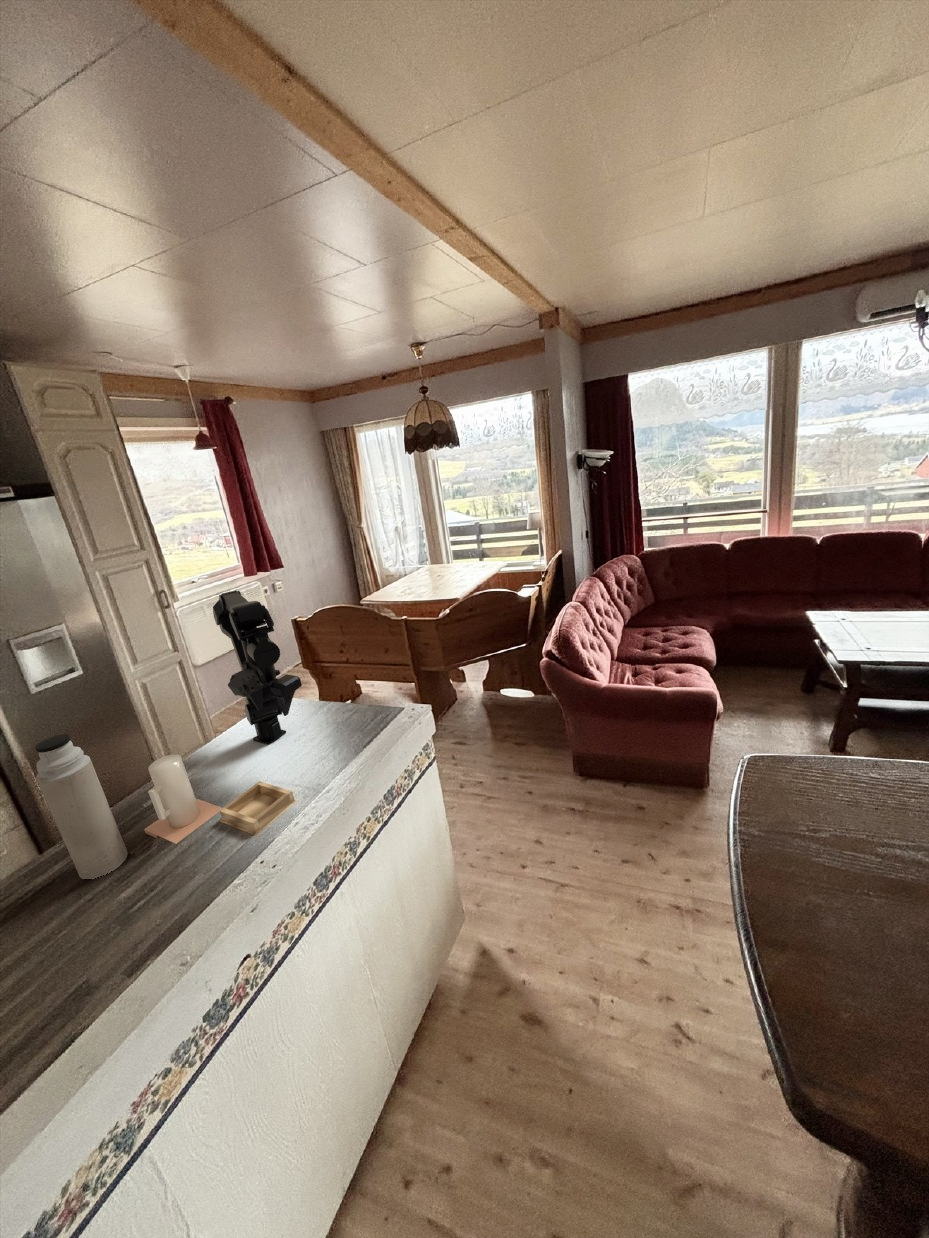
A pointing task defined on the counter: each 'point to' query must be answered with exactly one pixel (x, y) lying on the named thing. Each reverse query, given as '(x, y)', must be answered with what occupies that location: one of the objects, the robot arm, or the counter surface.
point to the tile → (178, 834)
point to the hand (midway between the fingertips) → (273, 712)
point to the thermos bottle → (79, 807)
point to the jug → (173, 792)
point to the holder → (257, 807)
